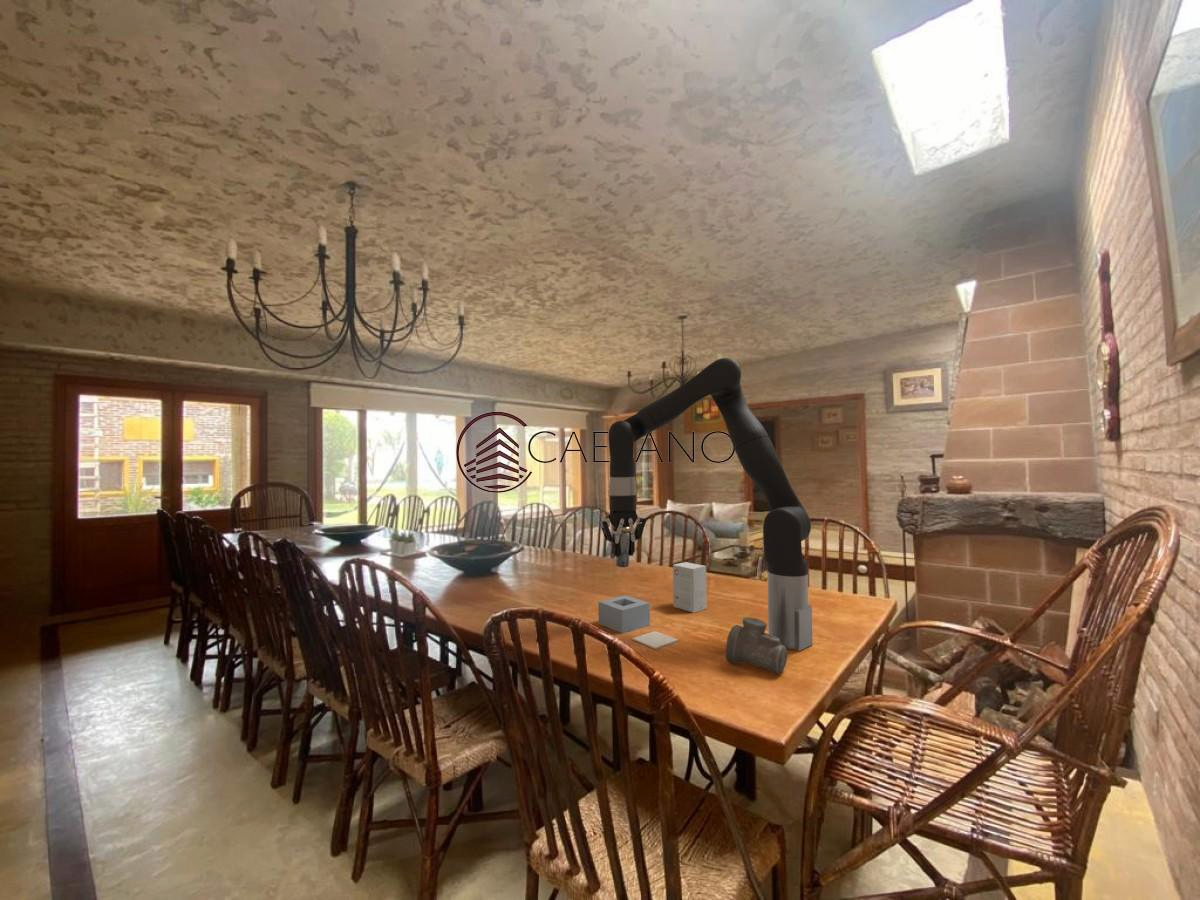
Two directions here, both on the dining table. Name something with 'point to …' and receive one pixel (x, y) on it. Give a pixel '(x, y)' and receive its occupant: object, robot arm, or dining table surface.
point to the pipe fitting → (755, 646)
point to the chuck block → (624, 613)
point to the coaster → (655, 640)
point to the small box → (689, 587)
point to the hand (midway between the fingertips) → (623, 555)
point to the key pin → (624, 547)
